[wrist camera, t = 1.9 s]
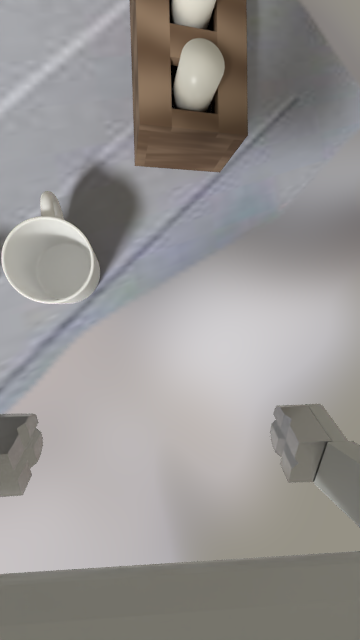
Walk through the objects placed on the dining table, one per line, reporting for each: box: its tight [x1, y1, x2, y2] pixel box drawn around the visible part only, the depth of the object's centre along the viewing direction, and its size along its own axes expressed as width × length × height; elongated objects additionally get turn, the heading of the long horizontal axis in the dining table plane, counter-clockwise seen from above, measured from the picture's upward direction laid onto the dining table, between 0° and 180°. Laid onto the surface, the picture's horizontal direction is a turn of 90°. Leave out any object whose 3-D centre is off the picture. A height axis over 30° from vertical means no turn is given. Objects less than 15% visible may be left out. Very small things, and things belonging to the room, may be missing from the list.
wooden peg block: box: [130, 0, 248, 172], centre depth 34 cm, size 26×12×9 cm, turn 1°
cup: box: [1, 191, 100, 304], centre depth 32 cm, size 8×12×10 cm
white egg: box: [171, 38, 225, 113], centre depth 30 cm, size 4×4×5 cm
